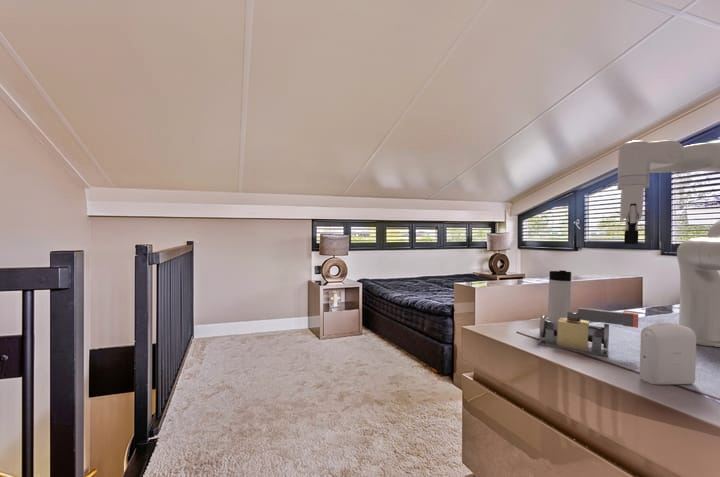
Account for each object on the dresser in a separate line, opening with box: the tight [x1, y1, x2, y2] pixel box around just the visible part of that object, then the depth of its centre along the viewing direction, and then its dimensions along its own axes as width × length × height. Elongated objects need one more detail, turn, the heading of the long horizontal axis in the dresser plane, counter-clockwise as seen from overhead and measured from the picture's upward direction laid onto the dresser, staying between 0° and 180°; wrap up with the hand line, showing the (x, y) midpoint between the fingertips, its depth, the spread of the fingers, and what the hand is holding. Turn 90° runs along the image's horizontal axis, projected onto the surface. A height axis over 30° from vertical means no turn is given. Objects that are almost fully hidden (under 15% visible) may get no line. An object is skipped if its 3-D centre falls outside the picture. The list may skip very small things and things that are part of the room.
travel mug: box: [547, 269, 572, 321], centre depth 113 cm, size 6×7×20 cm
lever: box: [567, 307, 639, 329], centre depth 94 cm, size 16×3×4 cm, turn 59°
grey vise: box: [537, 314, 610, 358], centre depth 97 cm, size 16×10×7 cm, turn 55°
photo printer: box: [639, 322, 697, 385], centre depth 73 cm, size 10×4×12 cm, turn 96°
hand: (630, 243), depth 105 cm, fingers closed
